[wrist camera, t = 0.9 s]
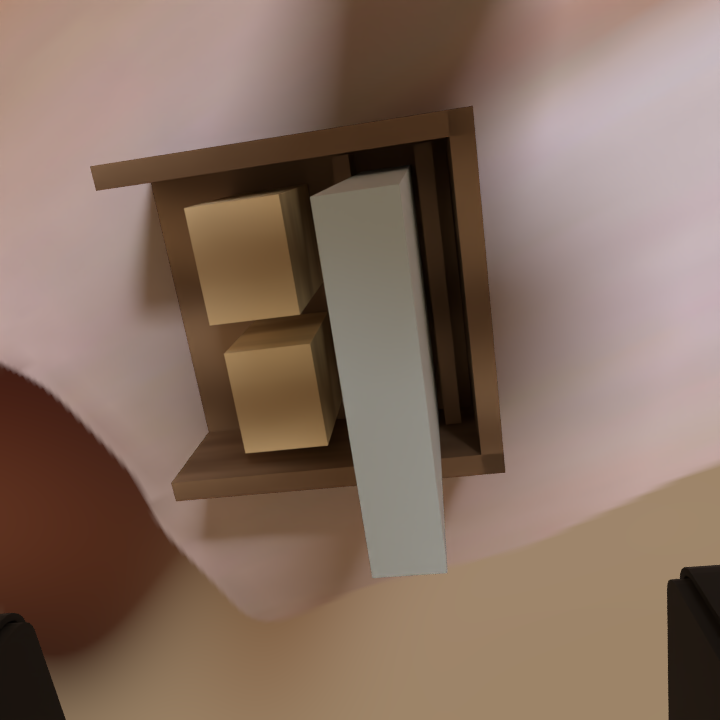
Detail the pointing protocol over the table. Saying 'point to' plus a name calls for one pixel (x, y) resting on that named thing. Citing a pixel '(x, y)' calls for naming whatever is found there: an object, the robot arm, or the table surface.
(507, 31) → the table surface
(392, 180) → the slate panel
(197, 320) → the walnut rack
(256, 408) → the short pine offcut
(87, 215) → the table surface
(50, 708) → the robot arm
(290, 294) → the tall pine offcut
